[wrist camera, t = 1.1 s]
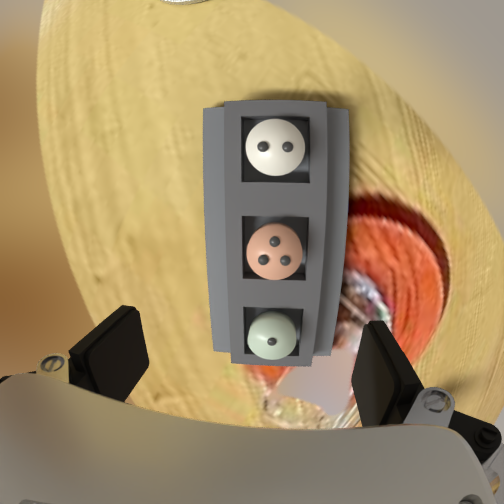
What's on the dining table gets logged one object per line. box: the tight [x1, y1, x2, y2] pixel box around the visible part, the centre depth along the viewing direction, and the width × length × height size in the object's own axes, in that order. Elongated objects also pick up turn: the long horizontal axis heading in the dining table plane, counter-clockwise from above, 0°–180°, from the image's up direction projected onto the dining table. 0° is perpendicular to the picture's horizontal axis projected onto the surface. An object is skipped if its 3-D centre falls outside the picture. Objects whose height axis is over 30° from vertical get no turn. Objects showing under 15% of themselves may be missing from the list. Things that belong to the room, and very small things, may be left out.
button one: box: [248, 311, 296, 360], centre depth 27 cm, size 5×5×2 cm
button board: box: [203, 100, 349, 366], centre depth 27 cm, size 27×14×4 cm, turn 0°
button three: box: [247, 222, 302, 280], centre depth 24 cm, size 5×5×2 cm
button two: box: [246, 119, 305, 176], centre depth 22 cm, size 5×5×2 cm
